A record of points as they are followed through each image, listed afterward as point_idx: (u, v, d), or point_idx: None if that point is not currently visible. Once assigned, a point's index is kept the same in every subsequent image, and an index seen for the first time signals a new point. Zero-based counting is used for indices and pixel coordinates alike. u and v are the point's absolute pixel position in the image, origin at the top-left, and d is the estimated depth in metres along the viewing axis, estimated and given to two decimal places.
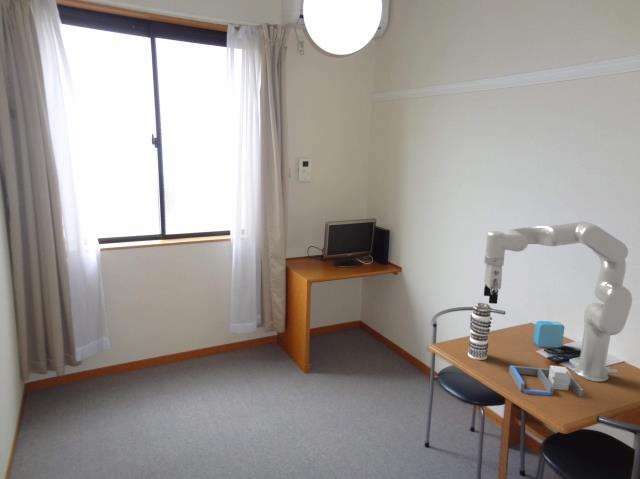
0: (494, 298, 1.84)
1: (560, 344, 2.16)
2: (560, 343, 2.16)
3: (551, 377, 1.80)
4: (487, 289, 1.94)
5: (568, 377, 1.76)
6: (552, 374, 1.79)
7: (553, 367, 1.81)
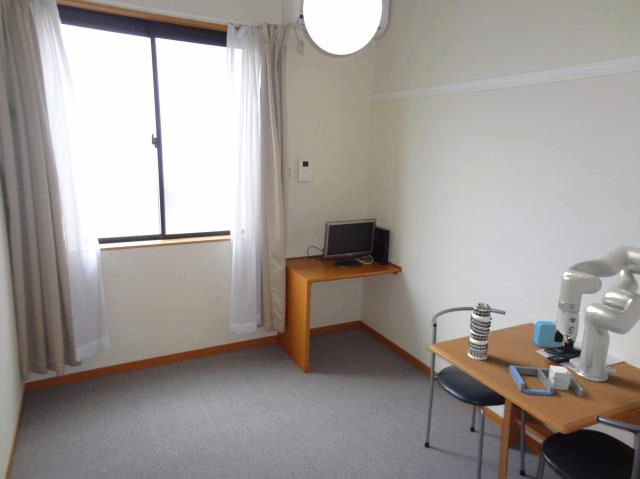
0: (570, 347, 1.71)
1: (560, 344, 2.16)
2: (560, 343, 2.16)
3: (551, 377, 1.80)
4: (558, 335, 1.81)
5: (568, 377, 1.76)
6: (552, 374, 1.79)
7: (553, 367, 1.81)
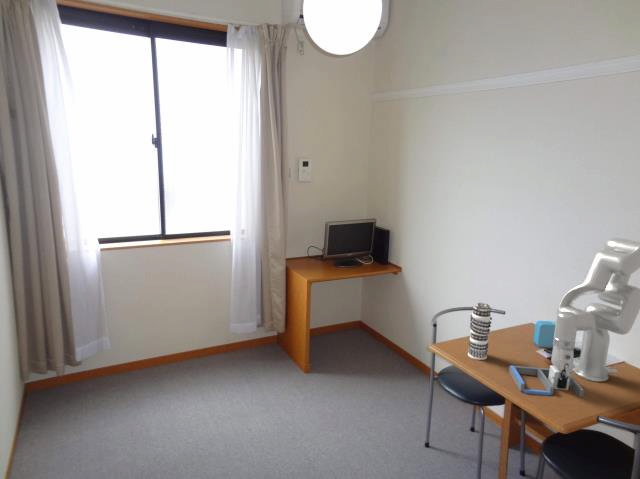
0: (563, 383, 1.76)
1: None
2: None
3: (551, 377, 1.80)
4: None
5: None
6: (552, 374, 1.79)
7: (553, 367, 1.81)
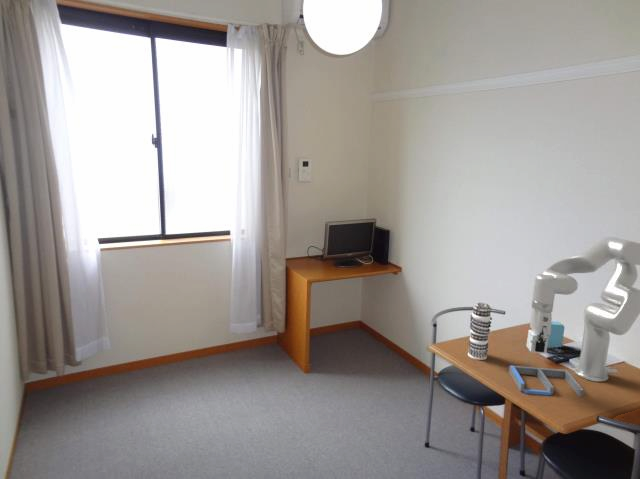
0: (541, 346, 1.74)
1: (560, 344, 2.16)
2: (560, 343, 2.16)
3: (529, 341, 1.78)
4: None
5: (546, 340, 1.74)
6: (530, 338, 1.77)
7: (531, 331, 1.79)
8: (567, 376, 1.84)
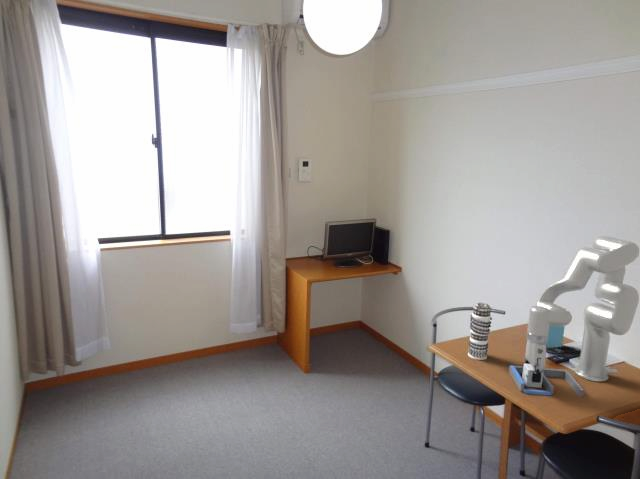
0: (538, 377, 1.75)
1: (560, 344, 2.16)
2: (560, 343, 2.16)
3: (524, 375, 1.81)
4: None
5: (541, 375, 1.78)
6: (526, 372, 1.80)
7: (527, 365, 1.82)
8: (567, 376, 1.84)
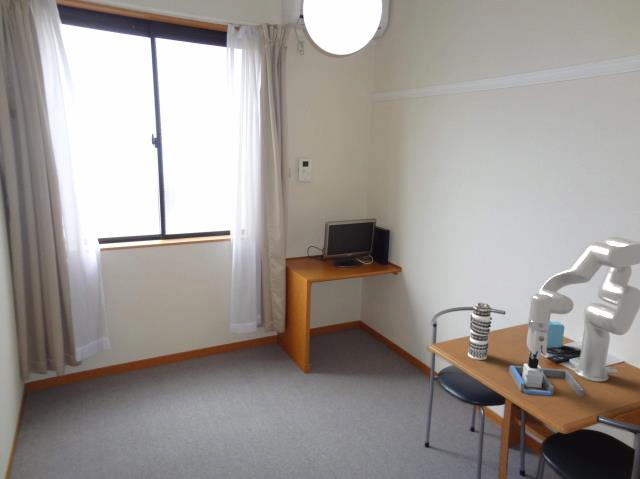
0: (535, 363, 1.78)
1: (560, 344, 2.16)
2: (560, 343, 2.16)
3: (524, 375, 1.81)
4: None
5: (541, 375, 1.78)
6: (526, 372, 1.80)
7: (527, 365, 1.82)
8: (567, 376, 1.84)
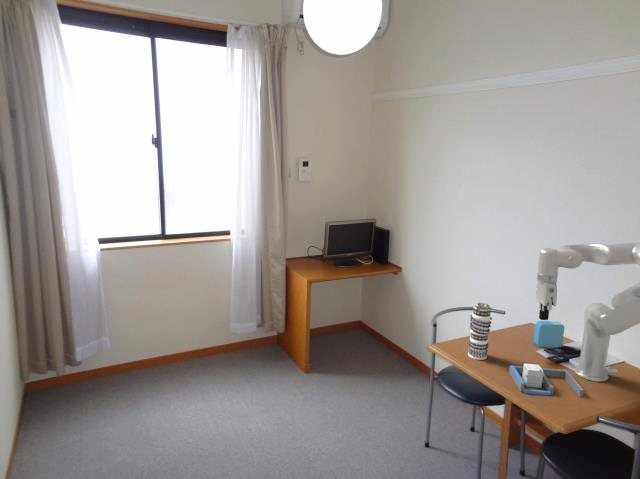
0: (545, 315, 1.87)
1: (560, 344, 2.16)
2: (560, 343, 2.16)
3: (524, 375, 1.81)
4: None
5: (541, 375, 1.78)
6: (526, 372, 1.80)
7: (527, 365, 1.82)
8: (567, 376, 1.84)
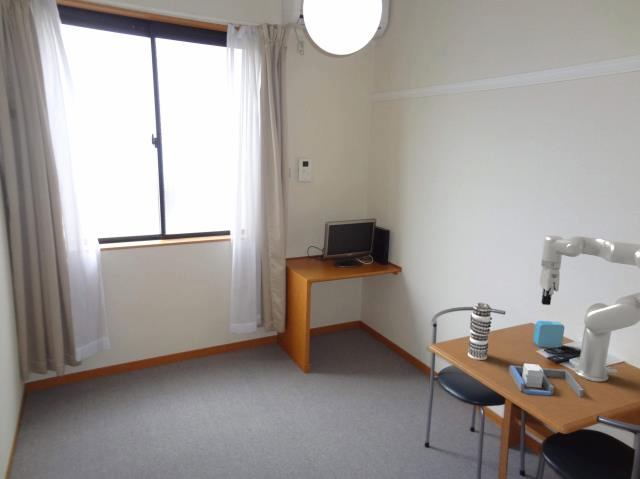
0: (548, 300, 1.95)
1: (560, 344, 2.16)
2: (560, 343, 2.16)
3: (524, 375, 1.81)
4: None
5: (541, 375, 1.78)
6: (526, 372, 1.80)
7: (527, 365, 1.82)
8: (567, 376, 1.84)
